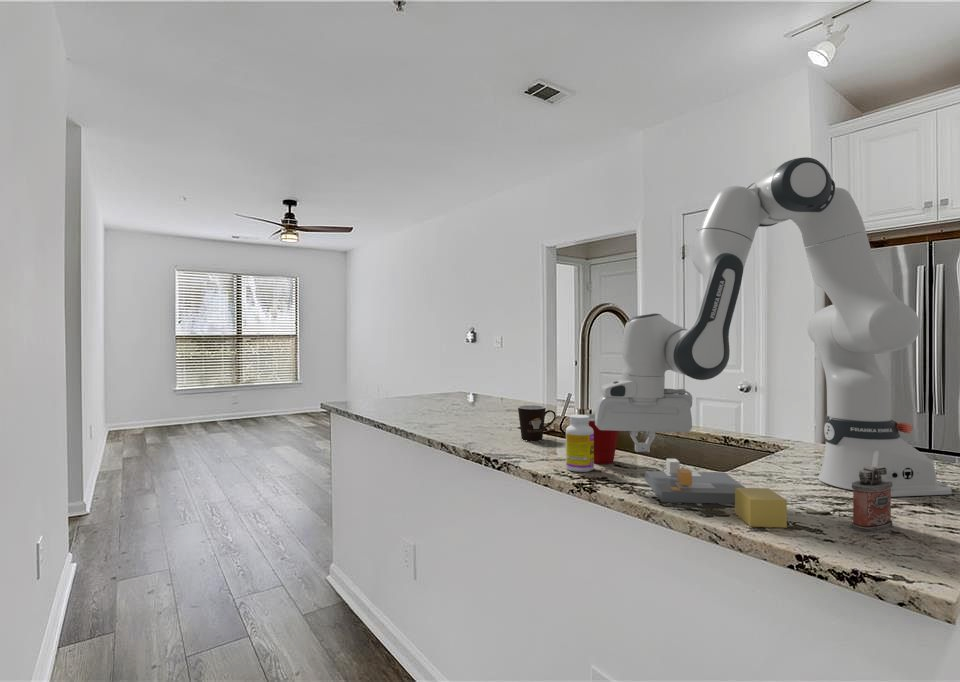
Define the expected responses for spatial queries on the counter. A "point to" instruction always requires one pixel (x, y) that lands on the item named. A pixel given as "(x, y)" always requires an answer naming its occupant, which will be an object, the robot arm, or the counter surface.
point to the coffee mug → (533, 421)
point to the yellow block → (761, 507)
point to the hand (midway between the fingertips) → (642, 451)
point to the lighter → (872, 501)
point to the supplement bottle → (579, 444)
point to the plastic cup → (603, 443)
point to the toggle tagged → (684, 476)
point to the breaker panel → (693, 487)
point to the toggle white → (672, 465)
